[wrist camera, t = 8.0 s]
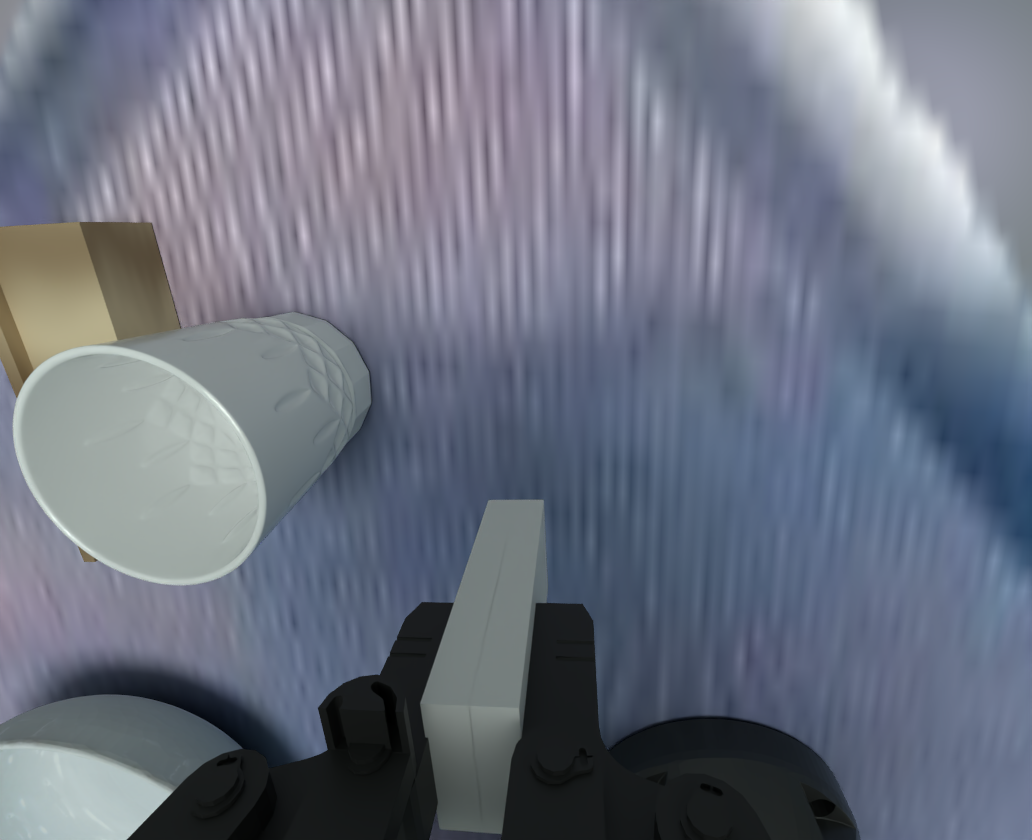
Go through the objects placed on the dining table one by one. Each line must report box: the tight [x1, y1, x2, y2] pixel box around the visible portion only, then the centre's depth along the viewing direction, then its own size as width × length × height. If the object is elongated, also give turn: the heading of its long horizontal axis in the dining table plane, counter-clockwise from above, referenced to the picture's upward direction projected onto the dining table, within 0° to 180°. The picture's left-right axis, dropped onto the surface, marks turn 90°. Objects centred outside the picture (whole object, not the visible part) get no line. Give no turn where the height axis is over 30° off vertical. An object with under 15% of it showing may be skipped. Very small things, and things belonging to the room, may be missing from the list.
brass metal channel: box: [0, 222, 180, 562], centre depth 23 cm, size 15×5×4 cm, turn 3°
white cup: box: [13, 312, 371, 585], centre depth 20 cm, size 8×8×10 cm
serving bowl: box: [0, 695, 243, 840], centre depth 33 cm, size 21×21×7 cm
